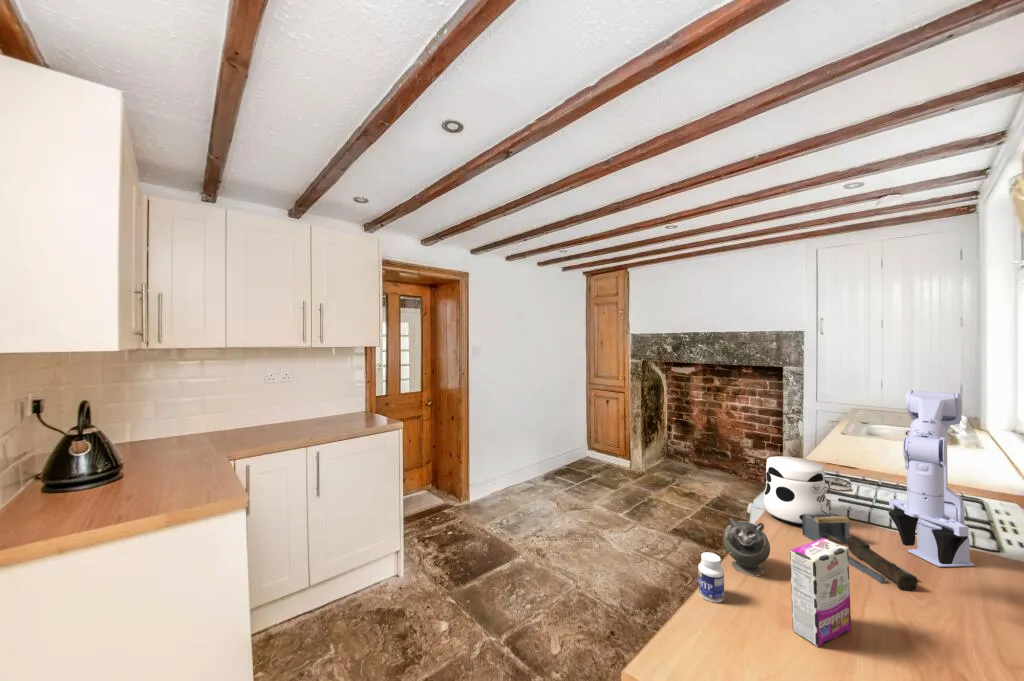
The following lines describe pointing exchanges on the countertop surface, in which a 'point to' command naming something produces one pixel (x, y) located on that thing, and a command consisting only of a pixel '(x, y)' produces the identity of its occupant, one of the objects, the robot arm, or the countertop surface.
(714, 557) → the pill bottle
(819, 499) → the white spotted cookie jar
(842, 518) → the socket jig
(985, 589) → the countertop surface
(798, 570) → the candy bar box
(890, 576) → the dark brown log
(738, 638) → the countertop surface
